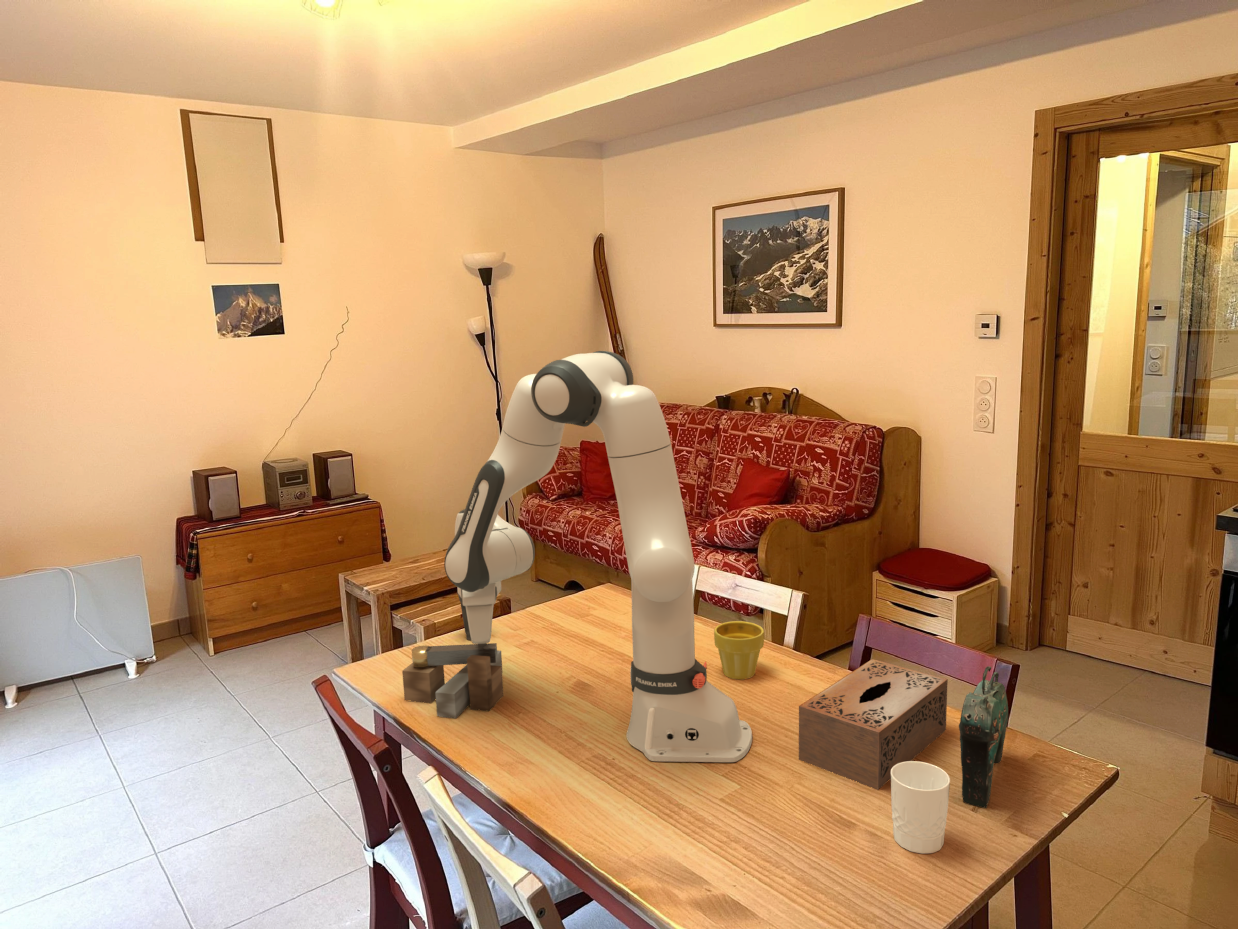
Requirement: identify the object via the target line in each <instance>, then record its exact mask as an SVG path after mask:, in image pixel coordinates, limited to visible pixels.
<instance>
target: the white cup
mask: <svg viewBox="0 0 1238 929" xmlns="http://www.w3.org/2000/svg"><path fill="white" fill-rule="evenodd" d="M950 785H951V778H950V775H949V774H948V773H947V772H946V771H945V770H943V769H942V768H941V767H939V766H936V765H935V764H932V763H928V762H925V761H919V760H918V761H916V760H915V761H914V760H911V761H906V762H901V763H898V764H896V765H894V766H893V767H892V769H891V779H890V790H891V791H890V796H891V798H890V800H891V816H892V817H891V820H892V832H893V838H894V841H895V842H896V843H897V844H898V845H899V846H900V847H901V848H903V849H906V850H907V851H909V852H912V853H917V854H933V853H936V852H938V851H940V850H941V849H942V847H943V846H944V843H945V831H946V825H947V817H948V809H949V798H950V797H949V796H950Z"/></svg>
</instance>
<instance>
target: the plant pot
mask: <svg viewBox="0 0 1238 929" xmlns="http://www.w3.org/2000/svg"><path fill="white" fill-rule="evenodd" d="M713 635H714V636H713V640H714V646H715V647H716V649H717V651H718V655H719V658H720V659H719V660H720V662H721V667H722V668H721V669H722V672H723V675H724V676H725V677H727V678H729V679H732V680H747V679H750V678H752V677H754V675H755V674H756V671H757V670H756V669H757V665H758V660H759V656H760V652H761V650H762V649H763V647H764V643H765V630H764V628H763V627H762V626H761V625H759V624H756V623H754V622H751V621H742V620H736V621H735V620H734V621H733V620H732V621H725V622H722V623H720V624H718V625H716V627H715V628H714V630H713Z"/></svg>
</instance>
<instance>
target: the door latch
mask: <svg viewBox="0 0 1238 929" xmlns="http://www.w3.org/2000/svg"><path fill="white" fill-rule="evenodd" d="M502 656H503V655H502V650H498V649H497V660H496V663H490V657H489V656H478V655H471V656H470V657H469V658H467V664H465V666H463V668H461V669H460V670H459V671H458V672H456V674H455V675H453V676H452V677H451V678H449V680H448V681H445V680H446V678H445V669H444V668H445V667H444V666H445V665H437V666H426V667H415V666H413V662H412V663H410V664H409V665H408V666H406V667H405V668H404V669H403V670H401V672H402V685H403V693H404V694H403V698H404V701H405V700H411V701H410V702H414V701H416V703H423V702H424V703H423V704H425V703H426V704H432V703H433V702H434V701H435V706H436V716H439V717H440V718H446V719H447V718H448V719H457V718H458V717H459V716H460V715H461V714H462V713H463V712H464V711H465V710H466V709H467V708H468V707H469V710H472V711H473V710H475V711H482V712H490V711H491V710H492V709H493V708H494V707H495V706H496V705H497V703H498V702H500V701H501V699H502V698H503V697H504V682H503V681H504V680H503V661H502V660H503V658H502ZM435 699H436V700H435ZM439 717H438V718H439Z"/></svg>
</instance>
